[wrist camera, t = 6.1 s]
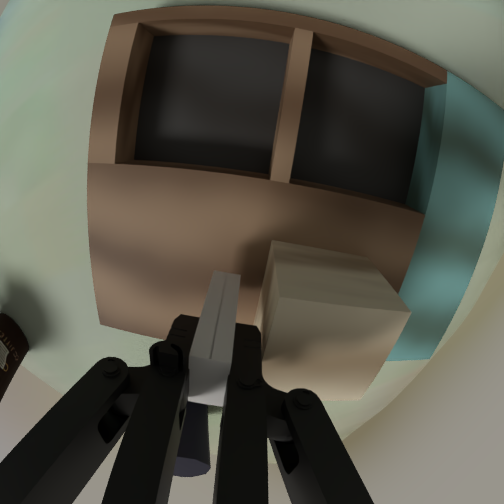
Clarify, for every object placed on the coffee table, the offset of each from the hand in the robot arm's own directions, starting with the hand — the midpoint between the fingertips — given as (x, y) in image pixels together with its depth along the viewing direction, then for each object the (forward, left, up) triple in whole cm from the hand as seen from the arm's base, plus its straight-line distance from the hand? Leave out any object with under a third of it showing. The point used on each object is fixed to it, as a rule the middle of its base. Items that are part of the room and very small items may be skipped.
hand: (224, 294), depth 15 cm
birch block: (0, +5, -2) cm, 5 cm away
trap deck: (-5, +5, -5) cm, 8 cm away
